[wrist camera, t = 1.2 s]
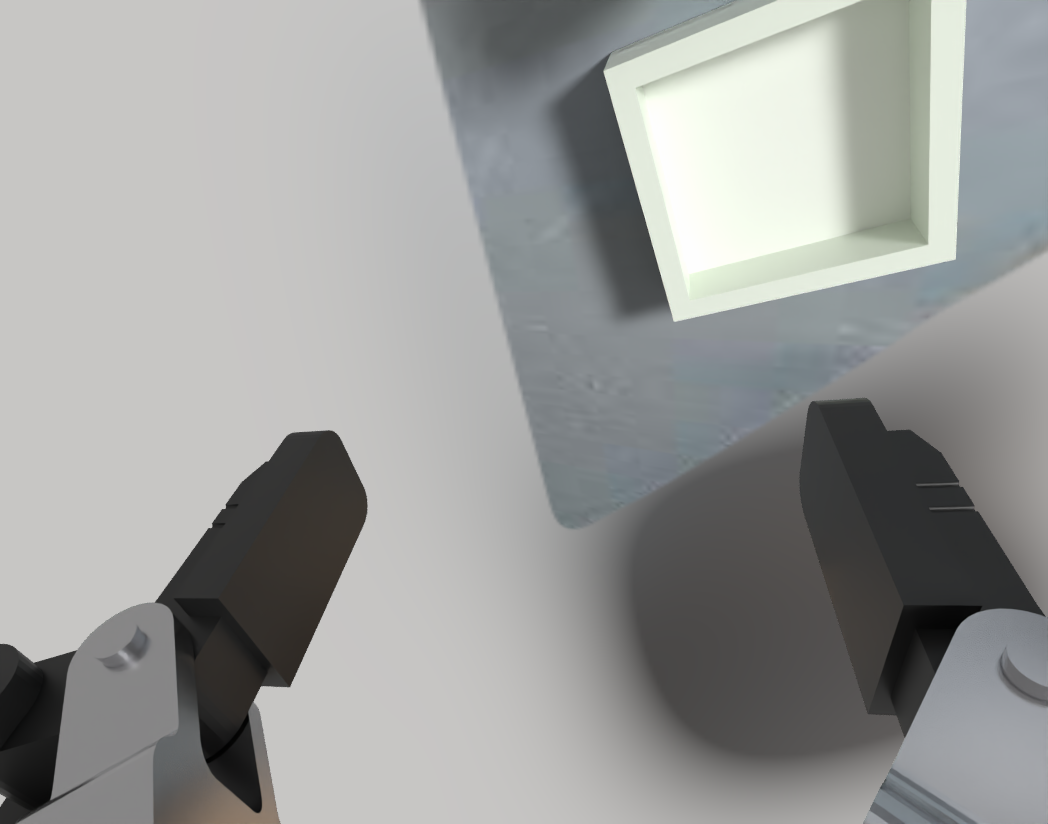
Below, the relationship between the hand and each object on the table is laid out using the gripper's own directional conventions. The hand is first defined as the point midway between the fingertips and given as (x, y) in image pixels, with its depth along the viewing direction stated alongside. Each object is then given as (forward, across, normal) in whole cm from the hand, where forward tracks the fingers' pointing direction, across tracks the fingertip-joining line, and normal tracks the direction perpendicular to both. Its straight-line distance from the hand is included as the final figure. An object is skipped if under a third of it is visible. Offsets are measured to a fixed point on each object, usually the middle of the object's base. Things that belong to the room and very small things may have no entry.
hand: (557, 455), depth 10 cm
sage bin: (+22, -8, +1) cm, 24 cm away
